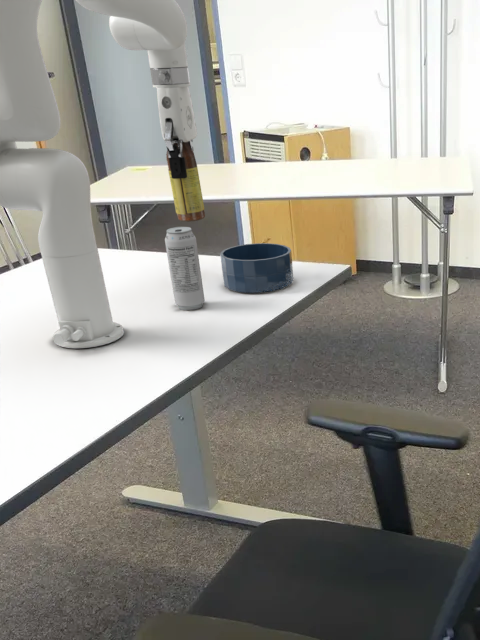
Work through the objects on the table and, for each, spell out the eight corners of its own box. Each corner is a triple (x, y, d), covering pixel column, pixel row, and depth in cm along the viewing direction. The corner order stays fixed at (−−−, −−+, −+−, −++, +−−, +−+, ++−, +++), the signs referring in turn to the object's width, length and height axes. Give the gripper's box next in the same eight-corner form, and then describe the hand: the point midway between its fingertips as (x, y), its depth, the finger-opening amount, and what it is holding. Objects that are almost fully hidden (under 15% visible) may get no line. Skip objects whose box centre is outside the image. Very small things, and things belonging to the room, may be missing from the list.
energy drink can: (207, 301, 160) (197, 225, 151) (202, 310, 155) (190, 232, 146) (179, 302, 160) (167, 226, 152) (172, 311, 155) (159, 233, 147)
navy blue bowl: (286, 294, 162) (284, 260, 159) (216, 294, 164) (212, 260, 160) (298, 274, 175) (296, 242, 171) (233, 275, 176) (229, 243, 172)
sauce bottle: (208, 216, 172) (195, 116, 161) (201, 222, 167) (187, 119, 156) (180, 216, 173) (165, 116, 161) (172, 222, 167) (156, 119, 156)
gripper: (175, 80, 147) (190, 182, 157) (200, 75, 161) (211, 168, 171) (138, 81, 148) (154, 182, 158) (165, 76, 162) (179, 169, 172)
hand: (184, 174), depth 165 cm, fingers closed on sauce bottle, 6 cm apart
